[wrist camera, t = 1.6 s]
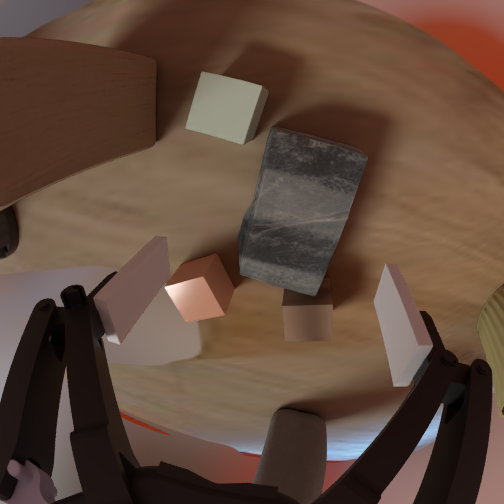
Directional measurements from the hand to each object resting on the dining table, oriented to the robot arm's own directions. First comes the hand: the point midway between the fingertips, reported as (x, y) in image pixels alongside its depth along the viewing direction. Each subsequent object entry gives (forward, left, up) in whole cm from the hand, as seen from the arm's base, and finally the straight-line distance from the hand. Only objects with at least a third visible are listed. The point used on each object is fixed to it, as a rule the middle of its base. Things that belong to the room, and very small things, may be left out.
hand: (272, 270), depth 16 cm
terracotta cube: (-8, -10, -13) cm, 18 cm away
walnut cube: (+4, -11, -13) cm, 17 cm away
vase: (+7, -40, -13) cm, 43 cm away
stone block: (+1, 0, -14) cm, 14 cm away
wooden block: (-18, +10, -13) cm, 25 cm away
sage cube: (-5, +9, -13) cm, 17 cm away
